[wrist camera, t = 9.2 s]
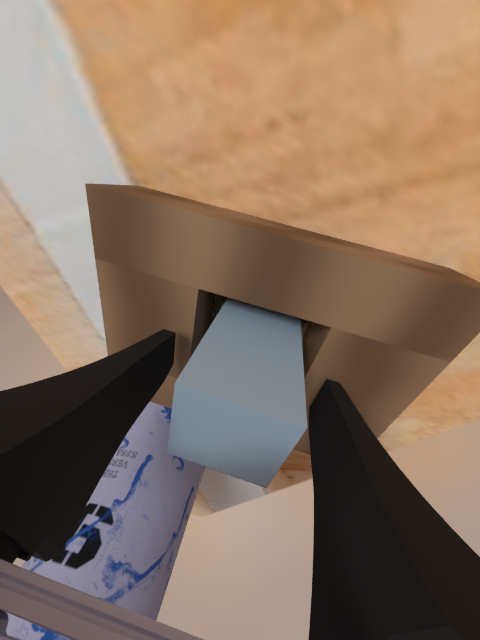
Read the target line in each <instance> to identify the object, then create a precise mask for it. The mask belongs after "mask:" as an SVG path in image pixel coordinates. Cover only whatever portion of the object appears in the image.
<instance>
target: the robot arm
mask: <svg viewBox="0 0 480 640" xmlns="http://www.w3.org/2000/svg"><path fill="white" fill-rule="evenodd" d="M175 338H176V332H172V331H169V330H166V329H163V330H161V331H159V332H157V333H155V334H153V335H151V336H149V337H147V338H145V339H143V340H141V341H139V342H137V343H135V344H133V345H131V346H129V347H127V348H125V349H123V350H121V351H119V352H116V353H114V354H112V355H110V356H107V357H105V358H103V359H101V360H98V361H96V362H93V363H91V364H88V365H86V366H83V367H80V368H78V369H75V370H72V371H69V372H66V373H63V374H61V375H57V376H54V377H51V378H47V379H44V380H41V381H38V382H34V383H31V384H27V385H24V386H19V387H15V388H12V389H8V390H4V391H0V640H22V639H19V638H16V637H13V636H10V635H7V633H6V628H7V625H8V621H9V619H8V614H7V613H9V614H12V615H14V616H16V617H19V618H21V619H24V620H26V621H29V622H31V623H33V624H36V625H38V626H41V627H43V628H45V629H48V630H50V631H53V632H55V633H58V634H60V635H62V636H65V637H67V638H70V639H72V640H203V639H201V638H198V637H196V636H193V635H190V634H188V633H186V632H183V631H181V630H178V629H175V628H173V627H170V626H168V625H165V624H163V623H160V622H158V621H155V620H153V619H150V618H148V617H145V616H143V615H140V614H138V613H135V612H133V611H130V610H128V609H125V608H123V607H120V606H117V605H115V604H112V603H110V602H107V601H105V600H102V599H100V598H97V597H95V596H92V595H90V594H87V593H85V592H82V591H80V590H77V589H75V588H72V587H70V586H67V585H64V584H62V583H59V582H57V581H54V580H52V579H49V578H47V577H44V576H42V575H39V574H37V573H34V572H32V571H29V570H27V569H24V568H22V567H19V566H16V565H14V564H12V563H13V562H14V560H15V559H16V558H20V559H23V560H25V561H28V560H30V558H31V557H35V558H37V559H40V560H43V561H45V562H47V561H49V560H51V559H53V558H55V557H56V556H58V555H59V554H61V553H62V551H63V549H64V547H65V545H66V543H67V541H68V539H69V537H70V535H71V533H72V531H73V530H74V528H75V526H76V524H77V522H78V520H79V518H80V516H81V514H82V512H83V510H84V508H85V507H86V505H87V503H88V501H89V499H90V497H91V496H92V494H93V492H94V490H95V488H96V486H97V485H98V483H99V481H100V479H101V477H102V476H103V474H104V472H105V470H106V469H107V467H108V465H109V463H110V462H111V460H112V458H113V456H114V455H115V453H116V451H117V450H118V448H119V446H120V445H121V443H122V441H123V440H124V438H125V436H126V435H127V433H128V431H129V430H130V428H131V427H132V425H133V424H134V423H135V421H136V420H137V418H138V417H139V416H140V414H141V413H142V412H143V410H144V409H145V407H146V406H147V405H148V403H149V402H150V401H151V399H152V398H153V396H154V395H155V394H156V392H157V391H158V389H159V388H160V387H161V385H162V384H163V382H164V381H165V379H166V377H167V375H168V374H169V372H170V370H171V368H172V366H173V364H174V352H175ZM309 441H310V453H311V464H312V474H313V486H314V552H313V579H312V598H311V614H310V630H309V640H480V557H479V556H478V555H477V554H476V553H475V552H474V551H473V550H472V549H471V548H470V547H469V546H468V545H467V544H466V543H465V542H464V541H463V540H462V539H461V537H460V536H459V535H458V534H457V533H456V532H455V531H454V530H453V529H452V528H451V527H450V526H449V525H448V524H447V523H446V522H445V521H444V519H443V518H442V517H441V516H440V515H439V514H438V513H437V512H436V511H435V510H434V509H433V508H432V506H431V505H430V504H429V503H428V502H427V501H426V500H425V498H424V497H423V496H422V495H421V494H420V493H419V491H418V490H417V489H416V488H415V487H414V486H413V484H412V483H411V482H410V481H409V479H408V478H407V477H406V476H405V475H404V473H403V472H402V471H401V470H400V469H399V467H398V466H397V465H396V463H395V462H394V461H393V460H392V458H391V457H390V456H389V454H388V453H387V452H386V450H385V449H384V448H383V446H382V445H381V443H380V442H379V441H378V439H377V438H376V437H375V435H374V434H373V432H372V431H371V429H370V428H369V426H368V425H367V423H366V422H365V420H364V419H363V417H362V416H361V414H360V413H359V411H358V410H357V408H356V407H355V405H354V404H353V402H352V400H351V399H350V397H349V396H348V394H347V393H346V391H345V390H344V388H343V387H342V385H341V384H340V383H339V382H336V381H332V380H329V379H326V380H325V382H324V384H323V385H322V387H321V389H320V390H319V392H318V394H317V395H316V397H315V399H314V400H313V402H312V404H311V405H310V407H309ZM6 612H7V613H6Z"/></svg>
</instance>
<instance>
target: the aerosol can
mask: <svg viewBox="0 0 480 640" xmlns="http://www.w3.org/2000/svg"><path fill="white" fill-rule="evenodd" d="M171 412H172V409H171V408H168V407H165V406H162V405H159V404H156V403H153V402H149V403H148V405H147V406H146V407H145V409H144V410H143V412H142V413H141V414H140V416H139V417H138V418H137V420H136V421H135V423H134V424H133V425H132V427H131V428H130V430H129V431H128V433H127V435H126V436H125V438H124V440H123V441H122V443H121V445H120V446H119V448H118V450H117V451H116V453H115V455H114V456H113V458H112V460H111V462H110V463H109V465H108V467H107V469H106V470H105V472H104V474H103V476H102V477H101V479H100V481H99V483H98V485H97V486H96V488H95V490H94V492H93V494H92V496H91V497H90V499H89V501H88V503H87V505H86V507H85V508H84V510H83V512H82V514H81V516H80V518H79V520H78V522H77V524H76V526H75V528H74V530H73V531H72V533H71V535H70V537H69V539H68V541H67V543H66V545H65V547H64V549H63V551H62V553H61V554H59V555H58V556H56V557H55V558H53V559H51V560H49V561H47V562H45V561H43V560H40V559H37V558H35V557H31V558H30V560H28V561H25V562H24V564H23V565H22V568H24V569H27V570H29V571H32V572H34V573H37V574H39V575H42V576H44V577H47V578H49V579H52V580H54V581H57V582H59V583H62V584H64V585H67V586H70V587H72V588H75V589H77V590H80V591H82V592H85V593H87V594H90V595H92V596H95V597H97V598H100V599H102V600H105V601H107V602H110V603H112V604H115V605H117V606H120V607H123V608H125V609H128V610H130V611H133V612H135V613H138V614H140V615H143V616H145V617H148V618H150V619H153V620H155V621H156V620H157V616H158V613H159V610H160V607H161V604H162V600H163V597H164V595H165V591H166V588H167V585H168V582H169V579H170V576H171V573H172V569H173V566H174V563H175V560H176V557H177V553H178V551H179V547H180V544H181V541H182V538H183V535H184V531H185V528H186V525H187V522H188V519H189V516H190V513H191V510H192V507H193V504H194V500H195V497H196V494H197V491H198V488H199V485H200V482H201V478H202V475H203V472H204V469H205V466H202V465H200V464H197V463H194V462H191V461H188V460H186V459H183V458H180V457H177V456H174V455H171V454H169V453H167V448H168V439H169V430H170V421H171ZM6 613H7V612H6ZM7 614H8V619H9V621H8V625H7V628H6V633H7V635H10V636H13V637H16V638H19V639H22V640H72V639H70V638H67V637H65V636H62V635H60V634H58V633H55V632H53V631H50V630H48V629H45V628H43V627H41V626H38V625H36V624H33V623H31V622H29V621H26V620H24V619H21V618H19V617H16V616H14V615H12V614H9V613H7Z"/></svg>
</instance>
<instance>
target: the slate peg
mask: <svg viewBox="0 0 480 640" xmlns="http://www.w3.org/2000/svg"><path fill="white" fill-rule="evenodd" d="M306 429H307V413H306V397H305V381H304V365H303V349H302V333H301V318H297V317H294V316H290V315H287V314H284V313H280V312H277V311H273V310H270V309H266V308H263V307H259V306H256V305H253V304H249V303H246V302H242V301H239V300H235V299H232V298H229V297H228V298H227V300H226V301H225V303H224V304H223V306H222V308H221V309H220V311H219V313H218V314H217V316H216V317H215V319H214V321H213V322H212V324H211V325H210V327H209V329H208V330H207V332H206V334H205V335H204V337H203V338H202V340H201V342H200V343H199V345H198V346H197V348H196V350H195V351H194V353H193V355H192V356H191V358H190V359H189V361H188V363H187V364H186V366H185V367H184V369H183V371H182V372H181V374H180V376H179V377H178V379H177V380H176V382H175V386H174V395H173V403H172V412H171V421H170V430H169V439H168V448H167V453H169V454H171V455H174V456H177V457H180V458H183V459H186V460H188V461H191V462H194V463H197V464H200V465H202V466H205V467H208V468H211V469H214V470H216V471H219V472H222V473H225V474H228V475H231V476H233V477H236V478H239V479H242V480H245V481H247V482H250V483H253V484H256V485H259V486H262V487H264V488H267V486H268V485H269V483H270V482H271V481H272V479H273V478H274V476H275V475H276V473H277V472H278V470H279V469H280V467H281V466H282V464H283V463H284V461H285V460H286V458H287V457H288V456H289V454H290V453H291V451H292V450H293V448H294V447H295V445H296V444H297V442H298V441H299V439H300V438H301V436H302V435H303V434H304V432H305V431H306Z"/></svg>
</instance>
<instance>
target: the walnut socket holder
mask: <svg viewBox="0 0 480 640" xmlns="http://www.w3.org/2000/svg"><path fill="white" fill-rule="evenodd" d="M85 185H86V192H87V200H88V207H89V215H90V222H91V230H92V238H93V245H94V253H95V260H96V268H97V275H98V283H99V290H100V298H101V306H102V313H103V321H104V328H105V336H106V343H107V351H108V356H110V355H112V354H114V353H116V352H119V351H121V350H123V349H125V348H127V347H129V346H131V345H133V344H135V343H137V342H139V341H141V340H143V339H145V338H147V337H149V336H151V335H153V334H155V333H157V332H159V331H161V330H163V329H166V330H169V331H172V332H176V338H175V352H174V364H173V366H172V368H171V370H170V372H169V374H168V375H167V377H166V379H165V381H164V382H163V384H162V385H161V387H160V388H159V389H158V391H157V392H156V394H155V395H154V396H153V398H152V399H151V401H150V402H153V403H156V404H159V405H162V406H165V407H168V408H171V409H172V403H173V395H174V386H175V382H176V380H177V379H178V377H179V376H180V374H181V372H182V371H183V369H184V367H185V366H186V364H187V363H188V361H189V359H190V358H191V356H192V355H193V353H194V351H195V350H196V348H197V346H198V345H199V343H200V342H201V340H202V338H203V337H204V335H205V334H206V332H207V330H208V329H209V327H210V323H211V317H212V312H213V306H214V300H215V294H218V295H222V296H225V297H229V298H232V299H235V300H239V301H242V302H246V303H249V304H253V305H256V306H259V307H263V308H266V309H270V310H273V311H277V312H280V313H284V314H287V315H290V316H294V317H297V318H301V319H304V320H308V321H310V323H309V325H308V328H307V330H306V332H305V334H304V336H303V339H302V349H303V365H304V381H305V397H306V413H307V429H306V431H305V432H304V434H303V435H302V436H301V438H300V439H299V441H298V442H297V444H296V445H295V447H294V448H293V449H295V450H298V451H301V452H304V453H307V454H310V455H311V453H310V441H309V407H310V405H311V404H312V402H313V400H314V399H315V397H316V395H317V394H318V392H319V390H320V389H321V387H322V385H323V384H324V382H325V380H326V379H329V380H332V381H336V382H339V383H340V384H341V385H342V387H343V388H344V390H345V391H346V393H347V394H348V396H349V397H350V399H351V400H352V402H353V404H354V405H355V407H356V408H357V410H358V411H359V413H360V414H361V416H362V417H363V419H364V420H365V422H366V423H367V425H368V426H369V428H370V429H371V431H372V432H373V434H374V435H375V437H376V438H378V437H379V436H380V435H381V434H382V433H383V432H384V431H385V430H386V429H387V428H388V426H389V425H390V424H391V423H392V422H393V421H394V420H395V419H396V418H397V417H398V416H399V415H400V414H401V413H402V412H403V411H404V410H405V409H406V408H407V407H408V406H409V405H410V404H411V403H412V402H413V401H414V400H415V399H416V398H417V397H418V396H419V394H420V393H421V392H422V391H423V390H424V389H425V388H426V387H427V386H428V385H429V384H430V383H431V382H432V381H433V380H434V379H435V378H436V377H437V376H438V375H439V374H440V373H441V372H442V371H443V370H444V369H445V368H446V367H447V366H448V365H449V363H450V362H451V361H452V360H453V359H454V358H455V357H456V356H457V355H458V354H459V353H460V352H461V351H462V350H463V349H464V348H465V347H466V346H467V345H468V344H469V343H470V342H471V341H472V340H473V339H474V338H475V337H476V336H477V335H478V334H479V332H480V282H478V281H476V280H473V279H471V278H469V277H467V276H465V275H463V274H461V273H459V272H457V271H455V270H453V269H450V268H447V267H443V266H439V265H435V264H432V263H428V262H424V261H420V260H416V259H413V258H409V257H405V256H401V255H398V254H394V253H390V252H386V251H383V250H379V249H375V248H371V247H367V246H364V245H360V244H356V243H352V242H349V241H345V240H341V239H337V238H333V237H330V236H326V235H322V234H318V233H315V232H311V231H307V230H303V229H299V228H296V227H292V226H288V225H284V224H281V223H277V222H273V221H269V220H266V219H262V218H258V217H254V216H250V215H247V214H243V213H239V212H235V211H232V210H228V209H224V208H220V207H216V206H213V205H209V204H205V203H201V202H198V201H194V200H190V199H186V198H182V197H179V196H175V195H171V194H167V193H164V192H160V191H156V190H152V189H148V188H145V187H141V186H130V185H107V184H85Z"/></svg>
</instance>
